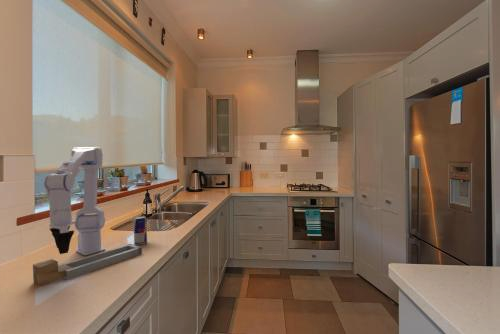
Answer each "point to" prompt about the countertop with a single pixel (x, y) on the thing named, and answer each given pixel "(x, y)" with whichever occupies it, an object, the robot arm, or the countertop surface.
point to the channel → (101, 260)
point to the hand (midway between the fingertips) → (62, 250)
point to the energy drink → (140, 230)
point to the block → (48, 272)
